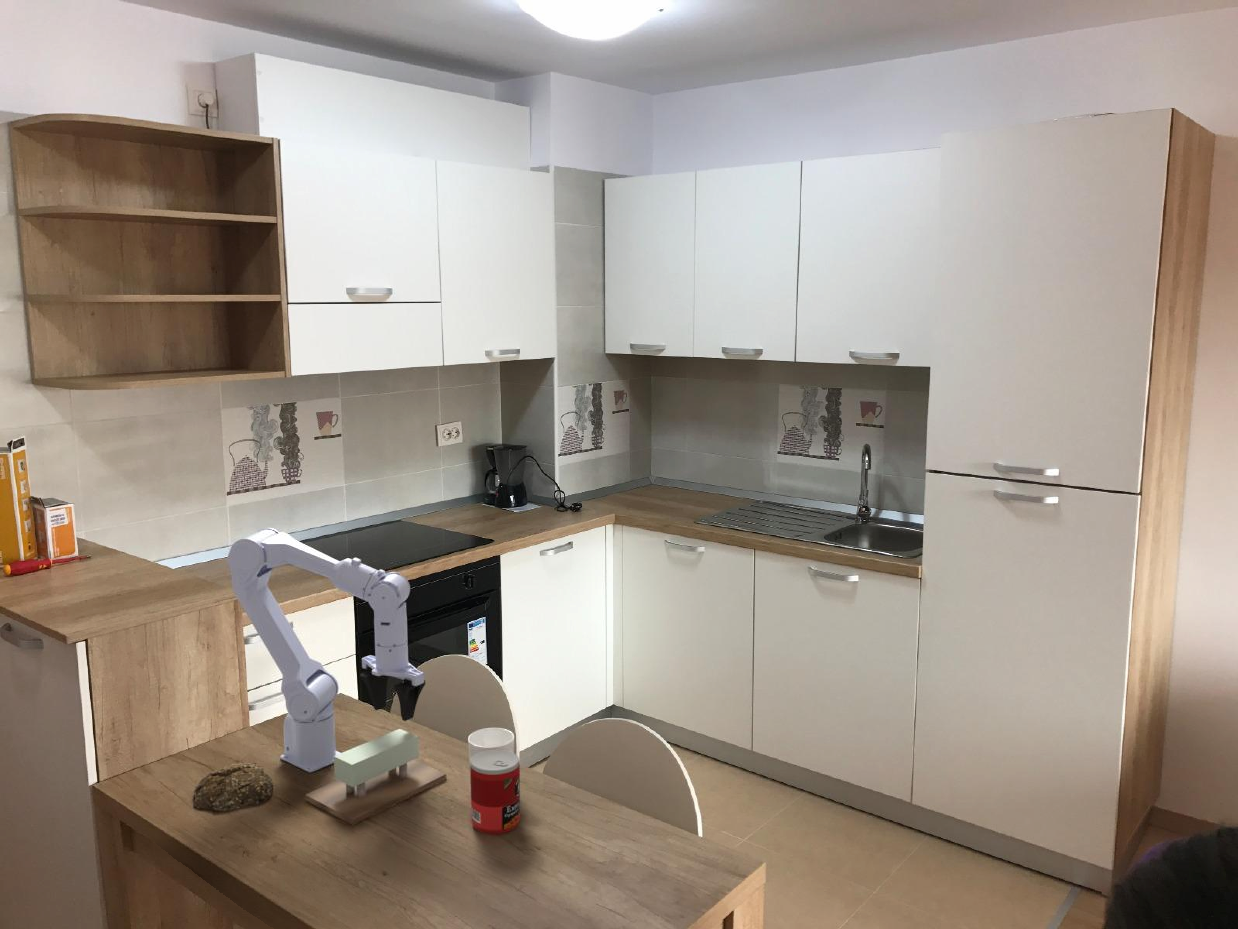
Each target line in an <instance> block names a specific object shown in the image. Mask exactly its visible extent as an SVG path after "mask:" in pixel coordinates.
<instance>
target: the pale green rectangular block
mask: <svg viewBox="0 0 1238 929" xmlns="http://www.w3.org/2000/svg"><path fill="white" fill-rule="evenodd" d="M419 757H420V756H419V736H418V735H416V734H414V733H412V732H409V731H406V730H404V729H402V728H398V729H395V730H393V731H390V732H388V733H386V734H384V735H381V736H379V737H376V738H373V739H372V740H369V741H367V742H365V743H363V744H360V745H356V746H355V747H353V748H350V749H348V750H344V751H343V752H340V754H338V755H336V756H334V763H333V767H334V768H333V769H334V770H333V771H334V773H333V774H334V779H335V780H336V781H337V780H339V781H341V782H343V783H345V784H347V785H349V786H351V787H355V786H357V785H359V784H362V783H364V782H366V781H368V780H370V779H373V778H375V777H377V776H379V775H381V774H383V773H386V772H388V771H390V770H392V769H394V768H397V767H399V766H401V765H403V764H405V763H408V762H410V761H412V760H416V759H418V758H419Z"/></svg>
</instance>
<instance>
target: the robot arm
mask: <svg viewBox="0 0 1238 929" xmlns="http://www.w3.org/2000/svg"><path fill="white" fill-rule="evenodd" d="M225 561H226V564H227V566H228V567H229V569H230V573H231V576H230V577H231V586H232V590H233V594H234V595H235V597H236V599H237V600H238V602H239V604H240V606H241V607H242V609H243V611H244V612H245V614H246V615H247V617H248V619H249V621H250V622H251V624H252V625H253V627H254V629H255V630H256V632H257V634H258V636H259V638H260V639H261V641H262V643H263V644H264V646H265V648H266V649H267V651H268V652H269V654H270V656H271V657H272V659H273V661H274V664H275V665H276V667H277V668H278V670H279V671H280V673H281V675H282V679H281V687H280V691H281V693H282V695H283V697H284V699H285V708H286V710H287V715H286V716H285V718H284V721H283V725H282V727H283V744H284V745H283V746H284V748H283V749H284V754H281V755H280V759H281V760H282V761H284V762H287V763H289V764H291V765H293V766H295V767H297V768H299V769H301V770H303V771H305V772H308V773H313V772H315V771H318V770H320V769H323V768H326V767H327V766H330V765H333V764H334V756H336V755H338V754H340V753H341V752H340V751H338V750H337V749H336V728H335V725H336V724H335V708H334V701H333V700H335V698H336V697H337V695H338V693H339V682H338V680H337V679H336V677H335V676H334V675H333V674H331V673H330V672H329V671H328V670H326V669H325V668H324V666H323V663H321V662H319V661H317V660H315V659H312V658H310V656H309V654H308V653H307V651H306V649H305V647H304V646H303V644H302V643H301V640H300V639H299V637H298V636H297V634H296V632H295V630H294V629H293V628H292V626H291V624H290V622H289V620H288V619H287V617H286V615H285V613H284V612H283V610H282V608H281V606H280V605H279V603H278V601H277V600H276V598H275V597H274V595H273V592H272V591H271V590H270V588H269V586H268V583H269V580H270V578H271V574H272V572H273V569H274V568H275V567H279V566H283V565H292V566H295V567H298V568H299V569H303V570H306V571H309V572H310V573H314V574H317V575H320V576H323V577H326V578H329V579H330V581H331V583H332V585H333V587H334V588H335V589H337V590H340V591H342V592H344V593H347V594H349V595H351V596H354V597H357V598H358V599H361V600H363V601H366V602H368V604H369V606H370V608H372V610H373V614H374V616H373V617H374V618H373V626H374V628H373V629H374V650H375V651H374V653H375V654H374V655H371V654H370V655H367V656H364V657H362V658H361V668H362V669H365V671H363V672H362V673H360V674H359V675H360V679H361V680H362V681H363V683H364V685H365V688H366V689H367V691H368V694H369V696H370V699H371V700H370V701H371V703H372V706H373V709H374V710H375V711H379V710H381V709H384V708H386V706H387V695H388V694H387V693H388V690H387V689H388V681H389V678H390V677H393V678H396V679H400V680H402V681H403V682H400V683H397V684H395V685H393V688H394V690H395V692H396V694H397V697H398V702H399V707H400V708H399V709H400V716H401V720H402V721H403V722H406V721H409V720H411V719H413V718H414V716H415V713H416V712H415V711H416V707H417V703H418V700H419V697H420V695H421V692H422V690H423V689H424V687H425V686H426V680H425V675H424V672H423V671H420V670H418V669H417V668H416V667H415V666H414V665H412V664H411V663H410V662H409V648H408V647H409V646H408V643H409V642H408V617H407V616H408V615H407V602H405V601H406V600H407V599H408V597H409V596H410V592H411V585H410V582H409V581H408V579H407V577H405V576H404V575H402V574H401V573H400V572H398V571H391V572H387V573H386V571H385V570H383V569H379V570H378V569H376V568H373V567H371V566H368V565H367V564H364V563H362V559H361V558H358V557H354V558H345V559H342V560H338V559H335V558H333V557H331V556H329V555H327V554H325V553H323V552H321V551H319V550H317V549H315V548H313V547H311V546H310V545H306V544H304V543H303V542H300V541H298V540H296V539H295V538H293V537H292V536H291V535H289V533H286V532H282V531H281V532H280V531H278V529H275V528H272V527H264V528H261V529H259V530H258V531H257V532H255V533H253V534H250V535H248V536H246V537H245V538H243V537H242V538H239V539H238V540H236V541H235V542H234V543H233V544H232V546H231V547H230V550H229V552H228V555H227V557H226V560H225Z"/></svg>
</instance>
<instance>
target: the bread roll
mask: <svg viewBox="0 0 1238 929" xmlns="http://www.w3.org/2000/svg"><path fill="white" fill-rule="evenodd" d="M273 789H274V782H273V779H272V778H271V777H270V776H269V774H268V773H267V771H266V770H265V769H264V768H262V767H260V765H259V764H256V763H255V762H252V763H248V762H235V763H230V764H228V765H227V766H226V765H225V766H223V767H220V768H218V769H216V770H213V771H211V772H209V773H208V774H207V775H205V776H204V777H202V779H201V780H200V781H199V782H198V784H196V786H195V789H194V791H193V793H194V799H195V800H194V802H193V803H194V807H195V808H196V809H197V810H202V811H203V810H204V811H209V810H210V811H211V810H214V811H216V812H217V811H218V812H228V811H234V810H239V809H241V808H244V807H249V806H258V805H260V804H262V803H265V802H266V801H267V800H269V799H270V798H271V797H272V794H273Z"/></svg>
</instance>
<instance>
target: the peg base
mask: <svg viewBox="0 0 1238 929" xmlns="http://www.w3.org/2000/svg"><path fill="white" fill-rule="evenodd" d="M443 780H444V781H445V780H447V774H446V773H444V772H442V771H440V770H438V769H435V768H433V767H431V766H429V765H426V764H424V763H422V762H420V761H417V760H416V759H414V760H412V761H410V762H408V763H405V764H403V765H401V766H399V767H397V768H394V769H392V770H390V771H388V772H386V773H383V774H381V775H379V776H377V777H375V778H373V779H370V780H368V781H366V782H364V783H362V784H359V785H357V786H355V787H351V786H349V785H347V784H345V783H343V782H341V781H339V780H337V779H336V780H335V781H333V782H331V783H328V784H326V785H324V786H322V787H319V788H318V789H315V790H313V791H311V792H308V793H306V794H305V795H304V796H305V801H306V802H308V801H309V802H308V803H309V804H312V805H314V806H316V807H317V808H320V809H321V810H324V811H326V812H327V813H329V814H331V815H333V816H335V817H337V818H338V819H340V820H341V821H342V820H343V821H345V822H346V821H347V823H349V825H351V826H354V825H357V824H359V823H360V821H361V822H363V821H364V819H365V820H367V819H369V818H371V817H373V816H374V815H373V814H375V815H377V814H378V812H379V811H381V812H383V811H386V810H387V809H389V808H391V807H393V806H395V805H398V804H400V803H401V802H403V801H406V800H407V799H409V798H411V797H413V796H415V795H417V794H420V793H422V792H423V791H422V790H424V791H425V789H426V790H427V789H429V787H430V788H431V787H433V786H436V785H437V784H440V783H442V782H443ZM435 784H436V785H435ZM421 791H422V792H421ZM419 792H420V793H419ZM414 794H415V795H414ZM408 797H409V798H408ZM406 798H407V799H406ZM400 801H401V802H400ZM394 804H395V805H394ZM392 805H393V806H392ZM390 806H391V807H390ZM386 808H387V809H386ZM376 813H377V814H376ZM379 813H380V812H379ZM372 815H373V816H372ZM366 818H367V819H366ZM358 822H359V823H358Z"/></svg>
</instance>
